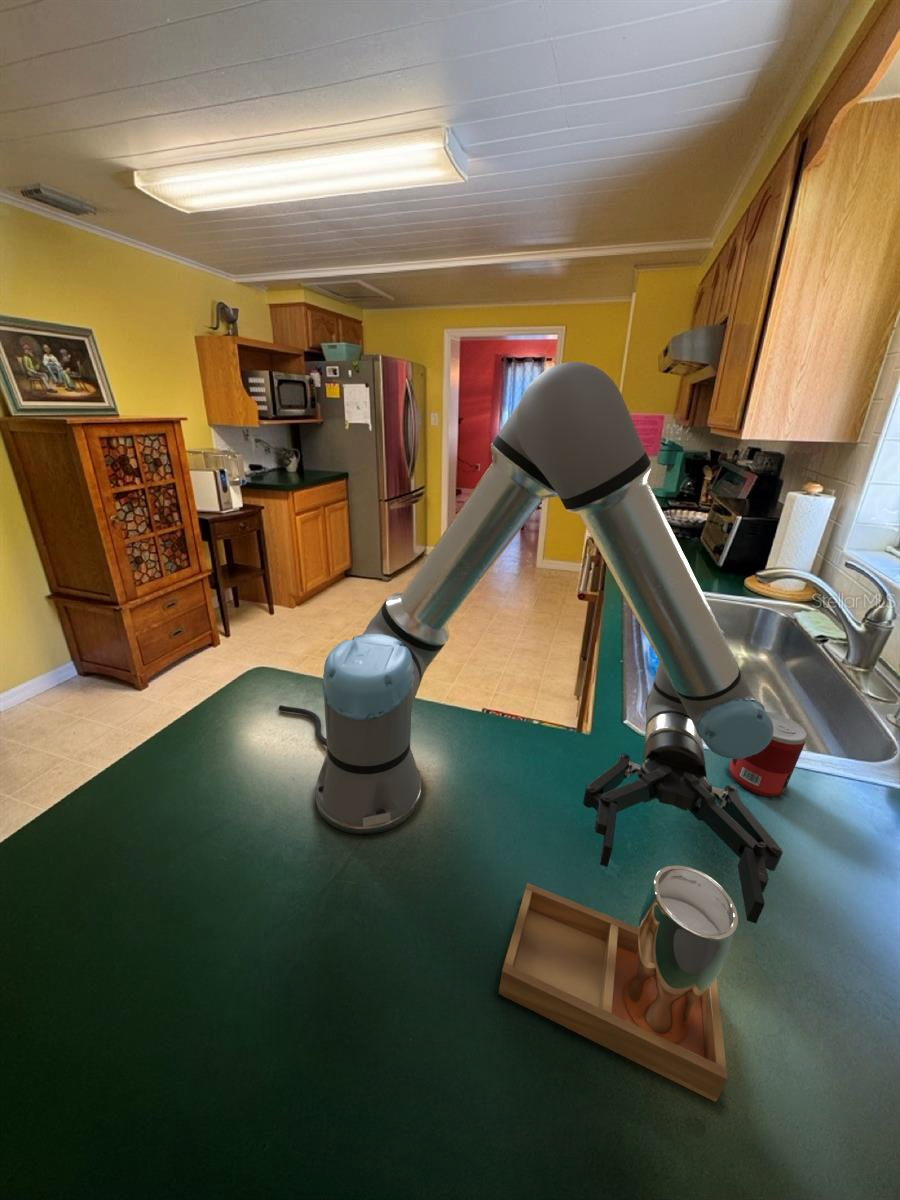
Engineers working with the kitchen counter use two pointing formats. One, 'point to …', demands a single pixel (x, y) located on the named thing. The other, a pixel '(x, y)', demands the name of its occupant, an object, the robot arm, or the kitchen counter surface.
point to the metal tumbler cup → (678, 949)
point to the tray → (603, 989)
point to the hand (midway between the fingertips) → (677, 883)
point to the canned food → (772, 759)
